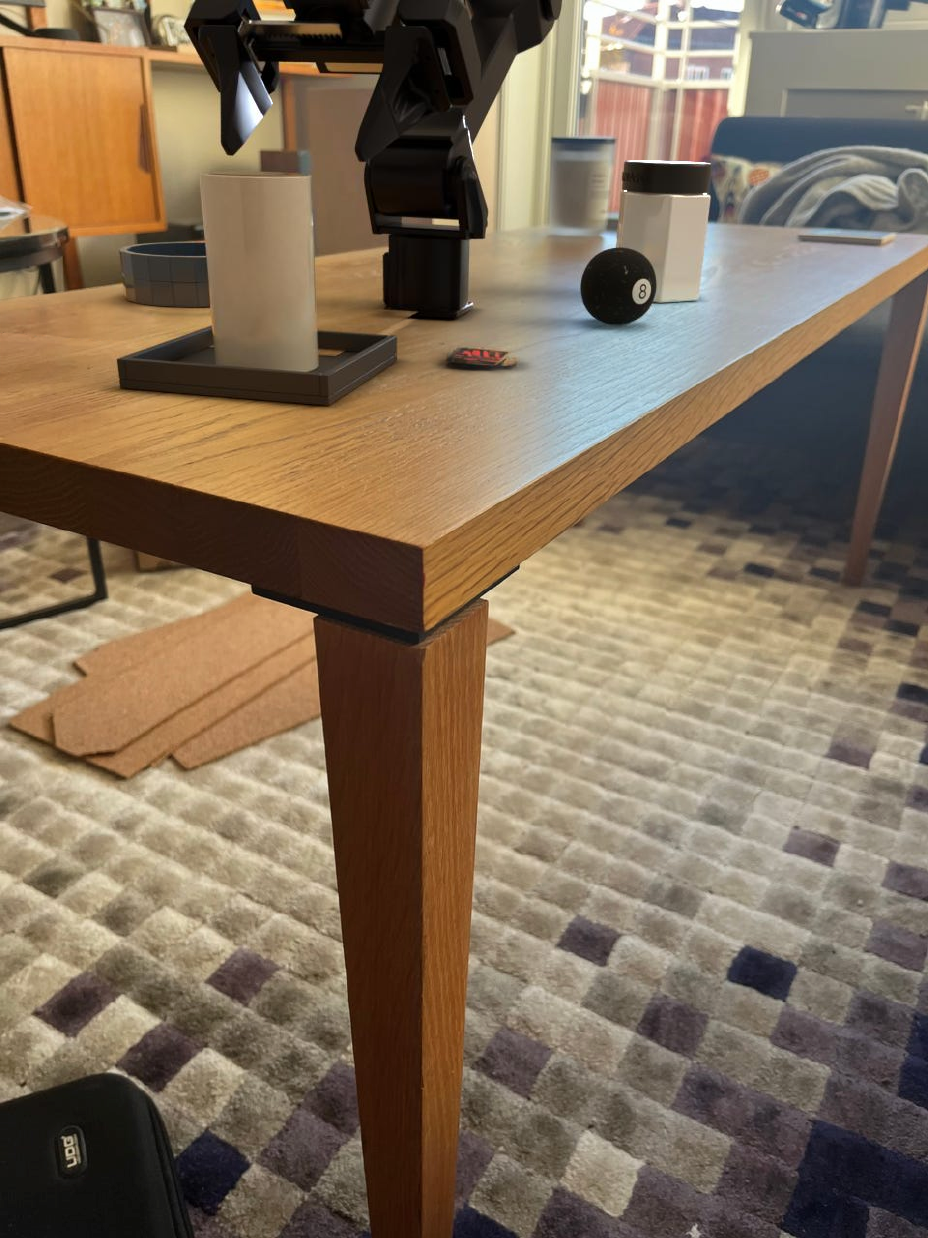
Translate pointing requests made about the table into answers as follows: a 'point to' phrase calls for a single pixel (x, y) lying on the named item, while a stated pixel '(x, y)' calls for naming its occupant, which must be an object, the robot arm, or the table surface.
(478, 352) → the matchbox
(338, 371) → the tray
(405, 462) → the table surface
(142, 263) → the bowl
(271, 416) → the table surface
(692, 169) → the jar
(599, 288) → the billiard ball
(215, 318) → the cup
